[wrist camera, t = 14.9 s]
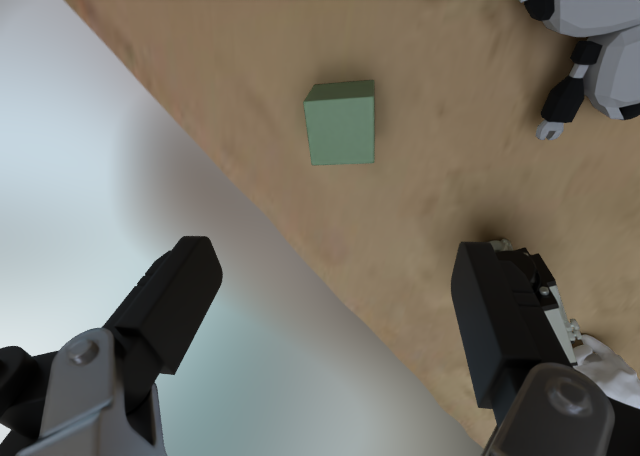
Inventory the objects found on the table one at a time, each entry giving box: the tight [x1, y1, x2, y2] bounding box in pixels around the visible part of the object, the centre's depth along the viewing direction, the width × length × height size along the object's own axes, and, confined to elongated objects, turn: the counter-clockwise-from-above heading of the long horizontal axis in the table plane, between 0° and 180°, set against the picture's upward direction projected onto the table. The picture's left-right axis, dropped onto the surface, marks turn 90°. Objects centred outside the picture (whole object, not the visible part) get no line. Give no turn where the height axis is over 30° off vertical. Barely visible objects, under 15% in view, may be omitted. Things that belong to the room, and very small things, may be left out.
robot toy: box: [519, 0, 640, 140], centre depth 19 cm, size 12×4×15 cm
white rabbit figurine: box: [573, 334, 640, 409], centre depth 39 cm, size 6×8×12 cm
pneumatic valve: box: [489, 239, 582, 366], centre depth 29 cm, size 6×12×12 cm, turn 33°
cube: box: [303, 80, 375, 165], centre depth 25 cm, size 5×5×5 cm
